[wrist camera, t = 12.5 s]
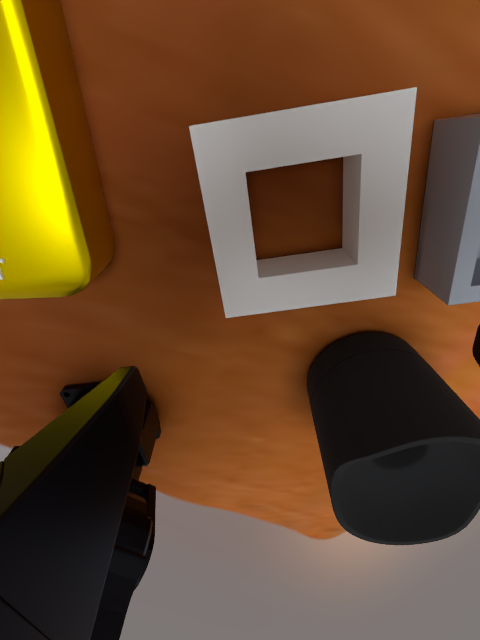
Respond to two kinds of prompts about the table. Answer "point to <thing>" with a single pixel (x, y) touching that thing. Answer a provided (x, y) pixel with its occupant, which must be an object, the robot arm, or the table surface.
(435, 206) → the square tray
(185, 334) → the table surface
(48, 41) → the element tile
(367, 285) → the square frame
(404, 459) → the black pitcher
